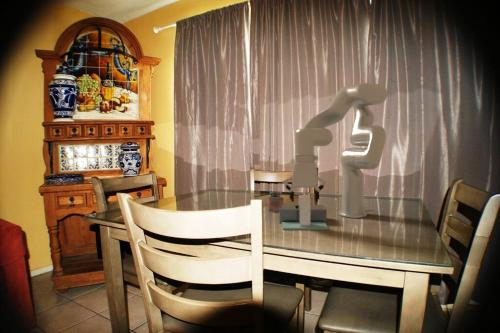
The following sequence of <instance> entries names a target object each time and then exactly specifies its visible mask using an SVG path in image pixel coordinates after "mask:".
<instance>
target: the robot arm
mask: <svg viewBox="0 0 500 333" xmlns="http://www.w3.org/2000/svg"><path fill="white" fill-rule="evenodd" d="M387 98H388V89H387V88H386V87H385V86H384V85H383V84H381V83H380V84H379V83H367V82H361V83H355V84H350V85H345V86H343V87H341V88H340V89H339V90H338V91H337V93H336V95H335V96H334V98H333V99H332V100H331V101H330V103H329V104H328V105H327V107H326V108H324V109H323V110H321V111H320V112H319V113H317V114H315V115H314V116H313V117H312V118H310V119H309V121H308V122H306V124H305V125H304V126H303V128H298V129H296V130H295V134H294V162H292V168H291V176H289V177H288V178H286V179H284V180H283V181H282V183H283V185H284V187H285V188H286V189H287V190H288V191H289V200H291V202H292V203H294V201H295V200H294V199H295V198H294V196H295V193H294V190H295V189H296V188H301V189H302V188H306V189H307V188H314V189H315V190H314V202H316V203H317V202H318V201H319V200H320V192H321V191H322V190H323V189H324V188H325V186H326V184H327V180H326V179H323V178H321V177H319V176H318V169H317V163H316V162H315V161H317V160H318V158H319V157H318V156H316V155H315V147H326V146H329V145H330V144H331V143H332V141H333V138H334V137H333V136H334V135H333V133H332V131H331V130H330V129H328V127H330V126H333V125H335V124H337V123H339V122H341V121H343V120H344V119H345V117H346V116H347V114H348V112H349V111H350V110H351V109H352V108H353V111H354V120H353V125H352V128H351V131H350V134H349V143H350V144H351V145H352V146H354V147H348V148H345V149H344V150H343V151H341V154H340V164H341V169H342V170H341V172H342V189H341V190H342V191H341V193H342V194H341V196H342V198H341V209H339V210H338V215H339V216H342V217H345V218H349V219H350V218H351V219H353V218H354V219H362V218H366V217H367V216H368V213H367V212H375V207H374V206H372V207H371V206H366V205H364V200H365V199H364V198H365V197H364V195H365V194H364V193H365V191H364V190H365V176H364V173H363V171H362V170H368V171H372V170H376V169H377V168H378V167H379V165H380V163H381V159H382V156H383V153H384V149H385V144H386V140H387V133H386V130H385V128H384V127H383V126H382V125H378V124H377V125H376V124H374V121H375V115H374V113H373V111H372V109H371V108H370V107H369V106H374V105H375V106H376V105H381V104H383V103H384V102H385V101H387ZM355 146H356V147H355ZM318 181H319V182H321V184H320V185H319V186H318ZM289 182H291V186H290V185H288V183H289Z"/></svg>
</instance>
